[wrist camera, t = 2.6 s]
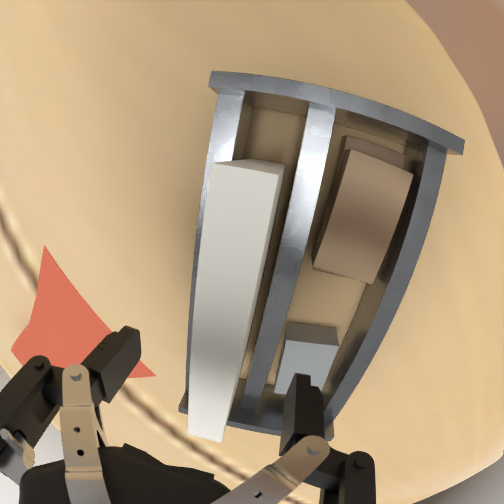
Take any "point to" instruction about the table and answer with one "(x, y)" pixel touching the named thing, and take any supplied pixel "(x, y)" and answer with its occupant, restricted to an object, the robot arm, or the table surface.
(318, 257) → the offcut
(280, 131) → the table surface
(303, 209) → the rack
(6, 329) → the table surface
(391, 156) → the offcut
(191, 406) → the white flat board
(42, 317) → the sheet
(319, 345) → the offcut
